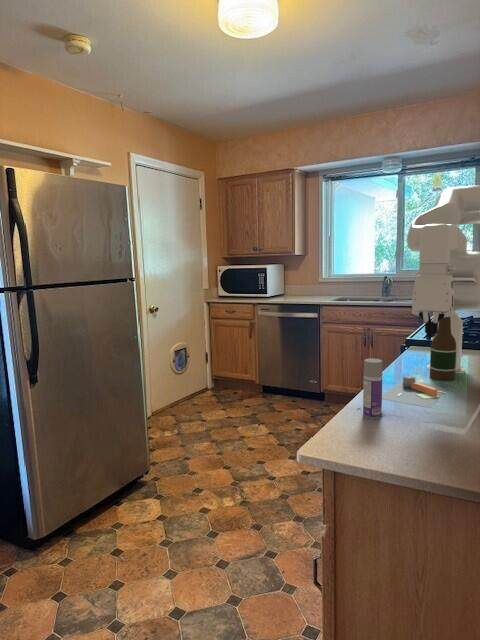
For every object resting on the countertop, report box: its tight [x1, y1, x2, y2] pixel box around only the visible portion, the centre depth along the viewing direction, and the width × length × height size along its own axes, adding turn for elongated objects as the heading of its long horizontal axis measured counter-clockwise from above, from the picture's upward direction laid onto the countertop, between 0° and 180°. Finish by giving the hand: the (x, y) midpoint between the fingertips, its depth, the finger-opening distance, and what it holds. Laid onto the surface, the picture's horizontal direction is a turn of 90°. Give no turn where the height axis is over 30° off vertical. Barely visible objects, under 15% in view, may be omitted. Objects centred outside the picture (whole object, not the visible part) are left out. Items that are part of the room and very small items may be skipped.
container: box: [362, 357, 383, 420], centre depth 113 cm, size 5×5×15 cm
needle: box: [402, 375, 437, 396], centre depth 129 cm, size 12×4×3 cm, turn 24°
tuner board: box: [382, 379, 450, 408], centre depth 128 cm, size 22×14×1 cm, turn 143°
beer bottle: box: [429, 312, 456, 382], centre depth 140 cm, size 8×8×24 cm
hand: (431, 336), depth 120 cm, fingers closed
